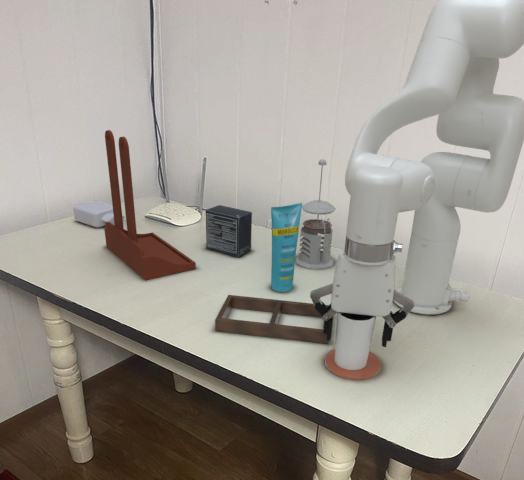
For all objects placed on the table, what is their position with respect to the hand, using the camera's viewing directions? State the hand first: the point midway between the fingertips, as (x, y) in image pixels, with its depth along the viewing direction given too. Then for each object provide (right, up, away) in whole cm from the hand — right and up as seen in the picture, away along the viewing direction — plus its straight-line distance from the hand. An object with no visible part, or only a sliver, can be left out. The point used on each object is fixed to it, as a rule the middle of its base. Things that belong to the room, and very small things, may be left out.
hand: (356, 340), depth 99 cm
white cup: (-1, -4, +2) cm, 5 cm away
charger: (-62, +34, +63) cm, 95 cm away
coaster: (0, -4, +3) cm, 5 cm away
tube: (-12, +12, +29) cm, 34 cm away
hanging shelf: (-45, +21, +42) cm, 65 cm away
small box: (-25, +24, +49) cm, 60 cm away
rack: (-14, +4, +15) cm, 21 cm away
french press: (-3, +20, +43) cm, 48 cm away
